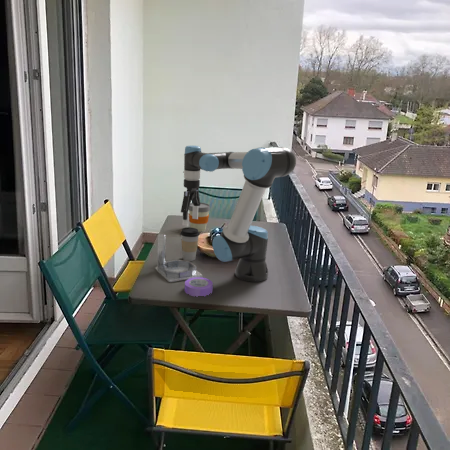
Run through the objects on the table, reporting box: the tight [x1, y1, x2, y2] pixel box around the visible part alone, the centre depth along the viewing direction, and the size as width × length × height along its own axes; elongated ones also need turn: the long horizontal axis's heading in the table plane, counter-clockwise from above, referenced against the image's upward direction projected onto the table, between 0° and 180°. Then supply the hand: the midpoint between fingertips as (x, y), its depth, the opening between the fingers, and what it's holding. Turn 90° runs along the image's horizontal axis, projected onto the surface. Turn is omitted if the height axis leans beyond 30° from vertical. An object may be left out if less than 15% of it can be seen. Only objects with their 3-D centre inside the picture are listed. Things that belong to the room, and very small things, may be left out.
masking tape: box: [184, 276, 214, 298], centre depth 192 cm, size 12×12×4 cm
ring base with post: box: [155, 233, 203, 283], centre depth 206 cm, size 16×16×17 cm
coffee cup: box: [179, 227, 200, 262], centre depth 224 cm, size 9×9×15 cm
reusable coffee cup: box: [188, 202, 211, 233], centre depth 271 cm, size 13×13×15 cm
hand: (190, 222), depth 222 cm, fingers open, 13 cm apart
